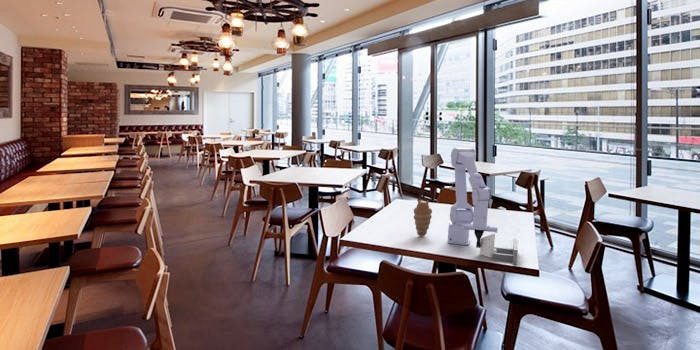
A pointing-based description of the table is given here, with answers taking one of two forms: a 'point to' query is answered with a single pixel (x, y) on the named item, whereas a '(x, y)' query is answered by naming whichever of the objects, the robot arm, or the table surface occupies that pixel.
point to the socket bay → (507, 253)
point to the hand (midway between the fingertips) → (478, 247)
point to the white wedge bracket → (487, 245)
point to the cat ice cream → (422, 217)
